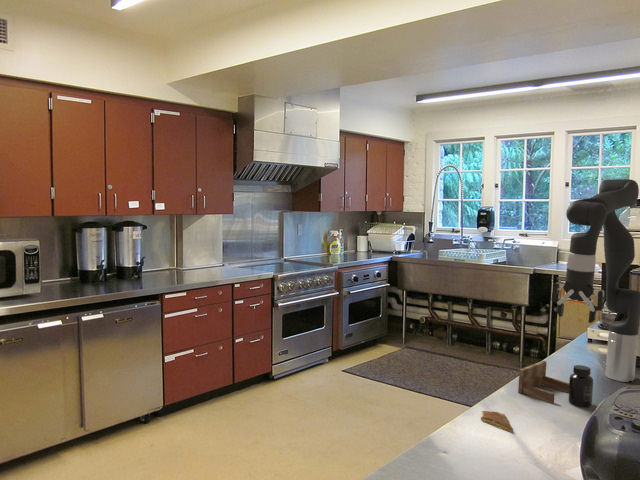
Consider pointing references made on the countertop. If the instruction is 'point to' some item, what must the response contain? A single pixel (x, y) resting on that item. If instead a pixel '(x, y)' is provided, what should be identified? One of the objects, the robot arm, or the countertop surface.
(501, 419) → the shard
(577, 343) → the countertop surface
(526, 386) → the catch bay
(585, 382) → the supplement bottle
